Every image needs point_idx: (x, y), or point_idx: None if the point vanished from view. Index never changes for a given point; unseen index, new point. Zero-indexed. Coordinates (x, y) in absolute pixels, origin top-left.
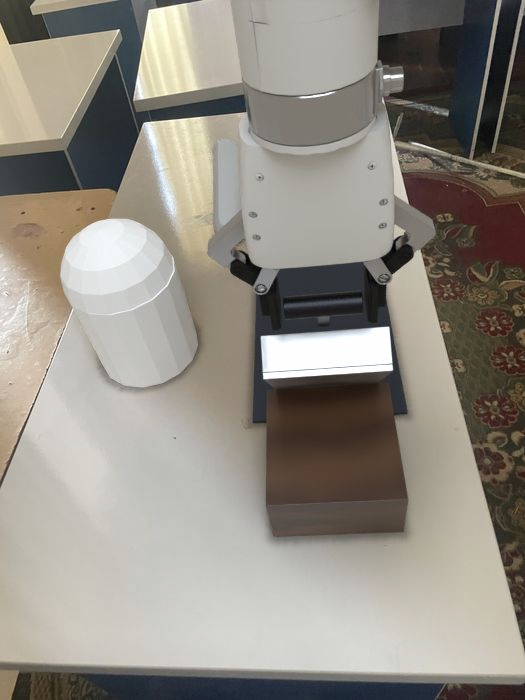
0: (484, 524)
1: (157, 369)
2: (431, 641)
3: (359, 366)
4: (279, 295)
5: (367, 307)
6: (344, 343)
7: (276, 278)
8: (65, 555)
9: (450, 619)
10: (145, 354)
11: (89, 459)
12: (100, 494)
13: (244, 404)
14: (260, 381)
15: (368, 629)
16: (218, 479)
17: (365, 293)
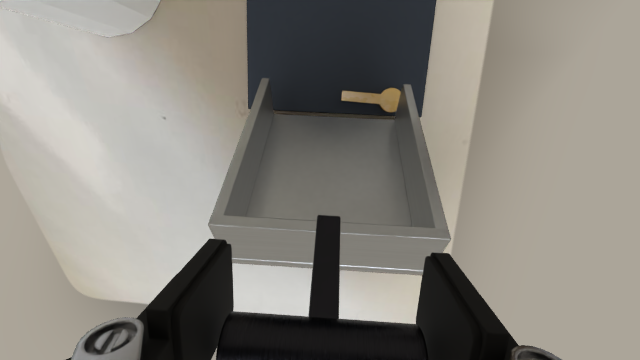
0: (452, 239)
1: (112, 25)
2: (382, 312)
3: (377, 268)
4: (217, 273)
5: (426, 335)
6: (361, 247)
7: (181, 346)
8: (92, 229)
9: (399, 301)
10: (78, 18)
11: (77, 134)
12: (103, 175)
13: (238, 80)
14: (255, 48)
15: (339, 302)
16: (217, 172)
17: (434, 298)
